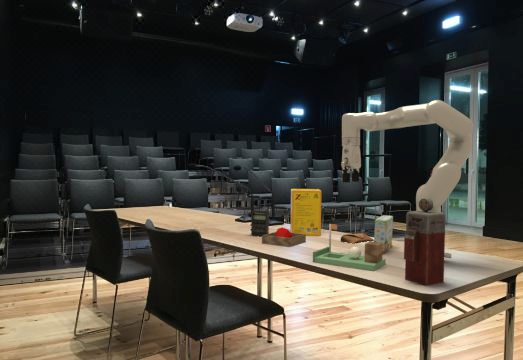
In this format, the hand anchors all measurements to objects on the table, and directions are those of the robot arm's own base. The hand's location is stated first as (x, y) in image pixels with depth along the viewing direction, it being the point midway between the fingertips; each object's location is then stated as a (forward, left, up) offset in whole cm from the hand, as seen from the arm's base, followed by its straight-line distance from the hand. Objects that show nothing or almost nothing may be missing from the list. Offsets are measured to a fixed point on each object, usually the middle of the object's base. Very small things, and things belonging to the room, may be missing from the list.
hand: (351, 182), depth 184 cm
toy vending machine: (-36, +26, -32) cm, 55 cm away
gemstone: (+38, -7, -32) cm, 50 cm away
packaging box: (+43, -40, -32) cm, 67 cm away
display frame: (+38, -8, -32) cm, 50 cm away
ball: (-8, +15, -27) cm, 32 cm away
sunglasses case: (+10, -35, -32) cm, 49 cm away
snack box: (-8, -21, -32) cm, 39 cm away
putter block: (-15, +15, -30) cm, 37 cm away
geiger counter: (+59, -17, -32) cm, 69 cm away
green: (-6, +15, -32) cm, 35 cm away
